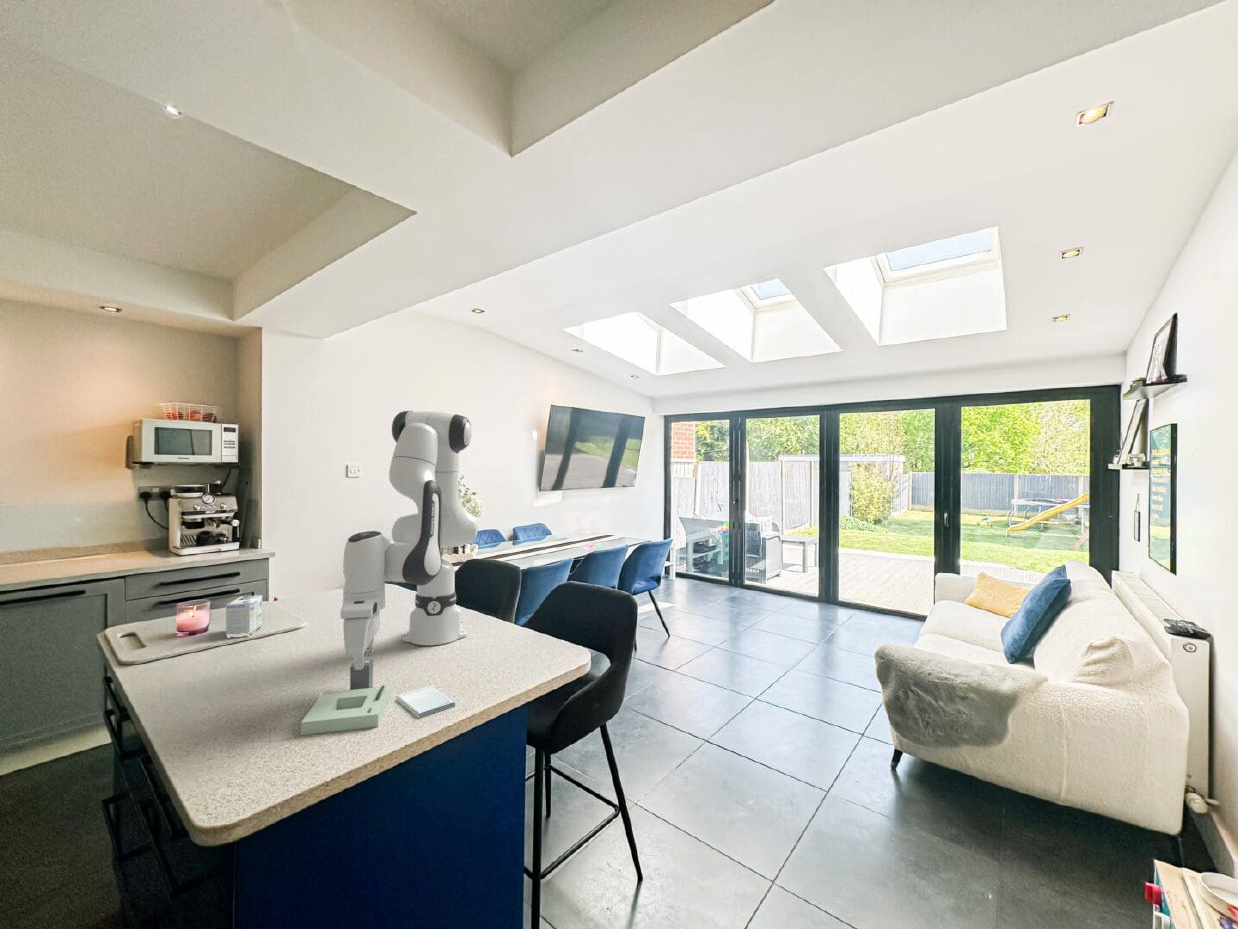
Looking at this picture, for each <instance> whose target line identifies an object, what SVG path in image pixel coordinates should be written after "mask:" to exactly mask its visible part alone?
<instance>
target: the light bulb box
mask: <svg viewBox="0 0 1238 929" xmlns="http://www.w3.org/2000/svg"><path fill="white" fill-rule="evenodd" d="M262 617H263V595H246V596H239V597H237V598H236V599H233V600H232V601H231V602H228V603H227V604H225V636H226V635H227V634H241V633H248V632H252V631H253V630H254V629H255V628H256V627H258V626H260V625H261V624H263V620H262Z"/></svg>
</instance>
